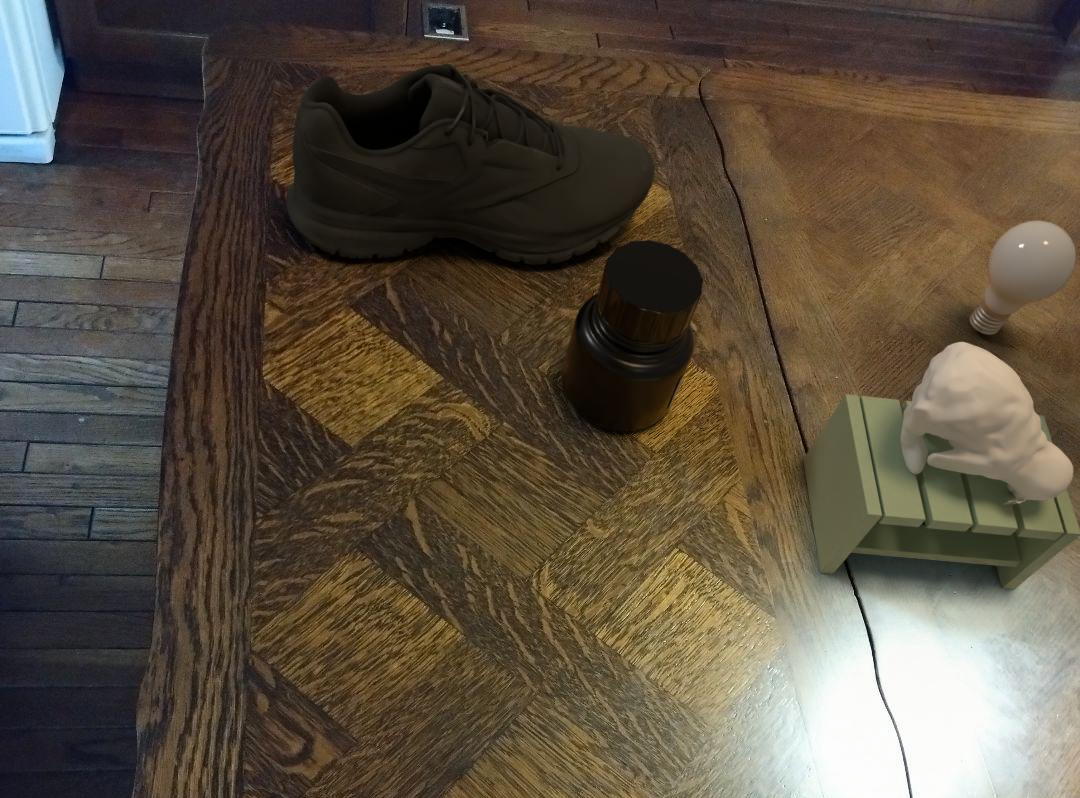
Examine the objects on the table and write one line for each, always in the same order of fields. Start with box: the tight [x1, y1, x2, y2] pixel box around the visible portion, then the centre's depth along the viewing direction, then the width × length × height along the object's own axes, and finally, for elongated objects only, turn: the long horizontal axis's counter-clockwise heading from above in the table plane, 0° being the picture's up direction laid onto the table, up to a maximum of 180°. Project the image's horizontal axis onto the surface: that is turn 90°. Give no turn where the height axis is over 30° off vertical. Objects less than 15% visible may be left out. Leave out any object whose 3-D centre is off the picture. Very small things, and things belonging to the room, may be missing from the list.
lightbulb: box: [969, 220, 1077, 336], centre depth 82 cm, size 6×6×11 cm
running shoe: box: [285, 62, 656, 266], centre depth 78 cm, size 11×30×14 cm, turn 105°
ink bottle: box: [561, 239, 704, 432], centre depth 72 cm, size 10×9×12 cm
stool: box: [802, 393, 1080, 590], centre depth 71 cm, size 15×10×8 cm, turn 89°
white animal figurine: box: [901, 341, 1074, 506], centre depth 64 cm, size 6×8×12 cm
